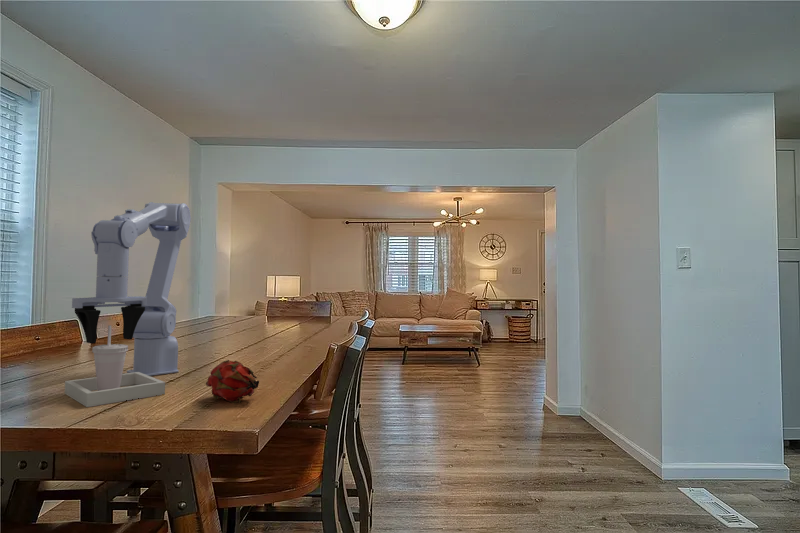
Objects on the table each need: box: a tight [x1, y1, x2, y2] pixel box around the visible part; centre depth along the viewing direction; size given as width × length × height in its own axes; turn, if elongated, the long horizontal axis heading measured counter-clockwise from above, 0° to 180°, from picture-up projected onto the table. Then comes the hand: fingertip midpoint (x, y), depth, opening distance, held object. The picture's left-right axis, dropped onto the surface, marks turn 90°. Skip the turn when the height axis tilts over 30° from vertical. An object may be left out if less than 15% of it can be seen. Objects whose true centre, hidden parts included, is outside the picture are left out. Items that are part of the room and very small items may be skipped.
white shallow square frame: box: [64, 372, 166, 408], centre depth 98 cm, size 14×14×2 cm
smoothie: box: [91, 325, 129, 391], centre depth 98 cm, size 6×6×14 cm
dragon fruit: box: [205, 359, 260, 404], centre depth 96 cm, size 8×8×12 cm
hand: (110, 341), depth 101 cm, fingers open, 7 cm apart
